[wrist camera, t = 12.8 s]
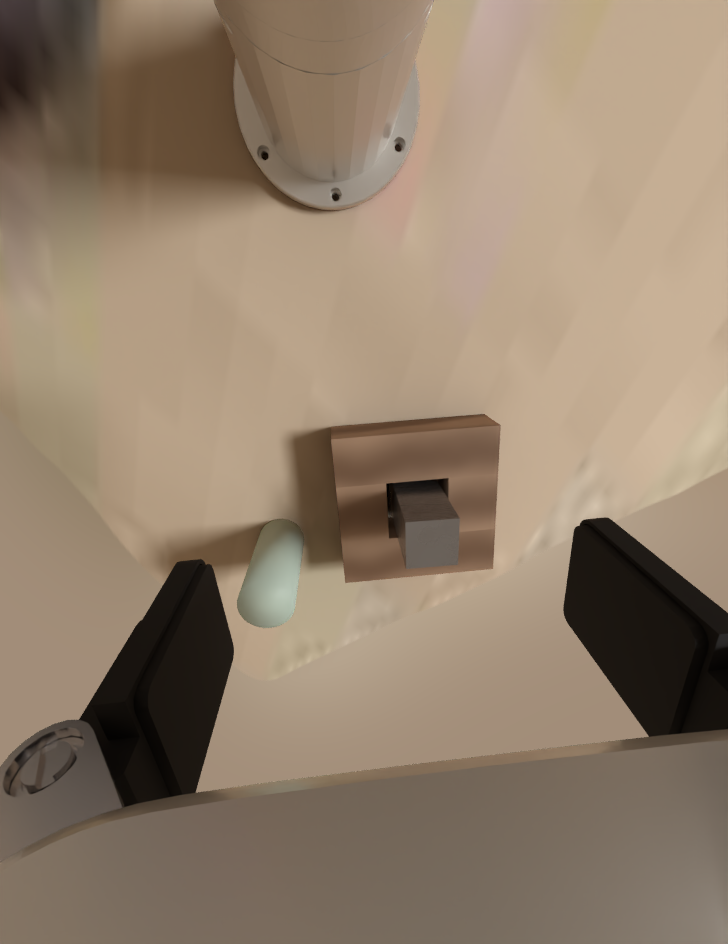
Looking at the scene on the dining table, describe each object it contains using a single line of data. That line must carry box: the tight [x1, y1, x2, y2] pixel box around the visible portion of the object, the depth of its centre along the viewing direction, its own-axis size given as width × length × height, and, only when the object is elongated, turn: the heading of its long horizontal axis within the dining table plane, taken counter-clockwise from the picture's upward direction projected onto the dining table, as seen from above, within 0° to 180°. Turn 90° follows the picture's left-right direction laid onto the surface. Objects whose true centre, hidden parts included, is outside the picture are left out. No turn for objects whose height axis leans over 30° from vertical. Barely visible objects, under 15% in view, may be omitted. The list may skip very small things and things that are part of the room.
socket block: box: [331, 414, 500, 583], centre depth 38 cm, size 14×14×4 cm
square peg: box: [389, 479, 460, 569], centre depth 36 cm, size 4×4×10 cm
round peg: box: [237, 519, 304, 628], centre depth 37 cm, size 4×4×10 cm
